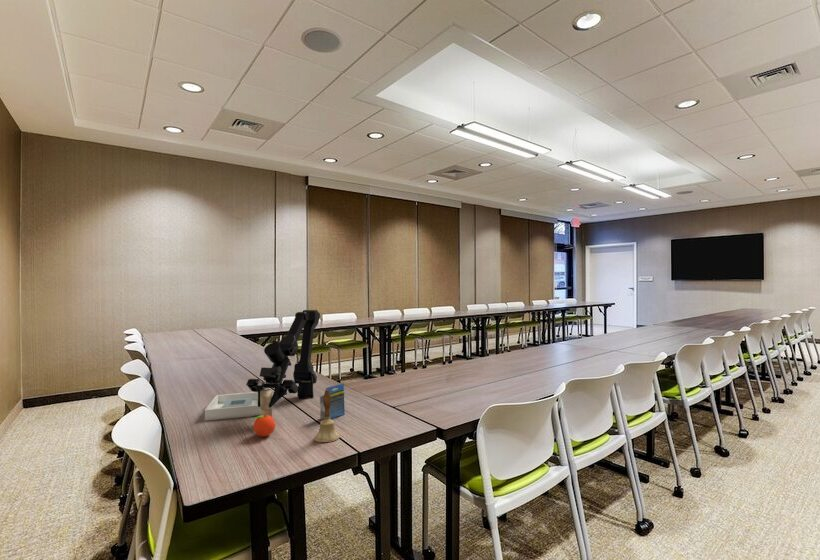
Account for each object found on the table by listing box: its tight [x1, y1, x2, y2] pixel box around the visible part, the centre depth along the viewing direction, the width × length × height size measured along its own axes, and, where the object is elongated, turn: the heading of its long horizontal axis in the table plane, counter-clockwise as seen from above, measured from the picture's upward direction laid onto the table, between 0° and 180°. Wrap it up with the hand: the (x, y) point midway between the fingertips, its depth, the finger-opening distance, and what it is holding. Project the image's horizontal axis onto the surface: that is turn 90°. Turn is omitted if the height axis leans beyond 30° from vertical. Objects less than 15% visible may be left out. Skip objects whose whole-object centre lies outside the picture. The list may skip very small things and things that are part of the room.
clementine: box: [249, 415, 276, 437], centre depth 133 cm, size 8×7×7 cm
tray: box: [204, 391, 261, 422], centre depth 161 cm, size 20×20×4 cm
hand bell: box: [314, 389, 341, 443], centre depth 131 cm, size 8×8×16 cm
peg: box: [260, 388, 273, 418], centre depth 145 cm, size 4×4×12 cm
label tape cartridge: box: [319, 382, 346, 421], centre depth 151 cm, size 9×4×12 cm, turn 139°
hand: (264, 406), depth 144 cm, fingers open, 4 cm apart
